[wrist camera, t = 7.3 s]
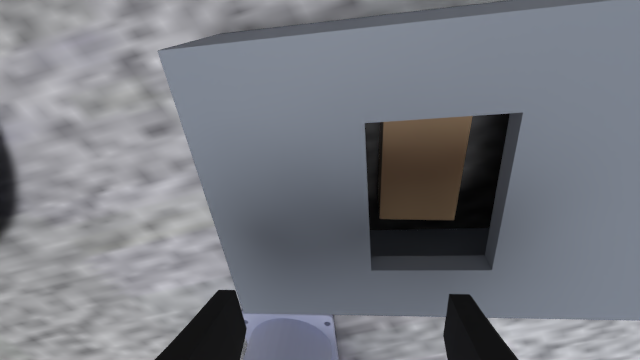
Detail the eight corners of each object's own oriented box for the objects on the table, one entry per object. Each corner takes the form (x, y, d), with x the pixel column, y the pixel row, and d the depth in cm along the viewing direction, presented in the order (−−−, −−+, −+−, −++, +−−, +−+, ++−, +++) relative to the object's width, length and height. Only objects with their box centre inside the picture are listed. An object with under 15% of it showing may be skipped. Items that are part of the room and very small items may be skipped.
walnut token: (442, 191, 20) (454, 220, 18) (377, 191, 21) (379, 218, 18) (456, 95, 17) (473, 113, 15) (380, 98, 18) (383, 115, 15)
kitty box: (573, 238, 21) (644, 320, 15) (269, 243, 24) (243, 313, 18) (659, -17, 14) (838, -25, 9) (219, 33, 17) (157, 50, 12)
